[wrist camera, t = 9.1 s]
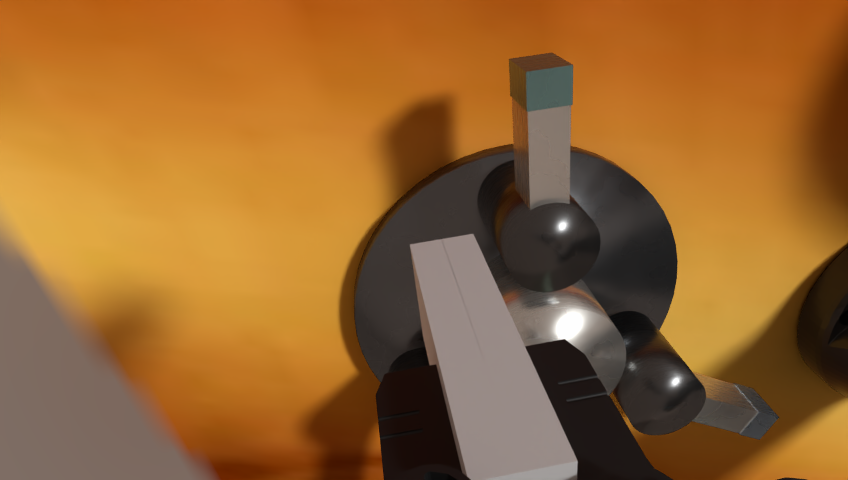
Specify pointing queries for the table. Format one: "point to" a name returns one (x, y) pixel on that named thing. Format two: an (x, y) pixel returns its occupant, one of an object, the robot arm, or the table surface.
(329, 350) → the table surface
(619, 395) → the screw
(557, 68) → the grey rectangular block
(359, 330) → the tribrach base
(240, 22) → the table surface
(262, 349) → the table surface
